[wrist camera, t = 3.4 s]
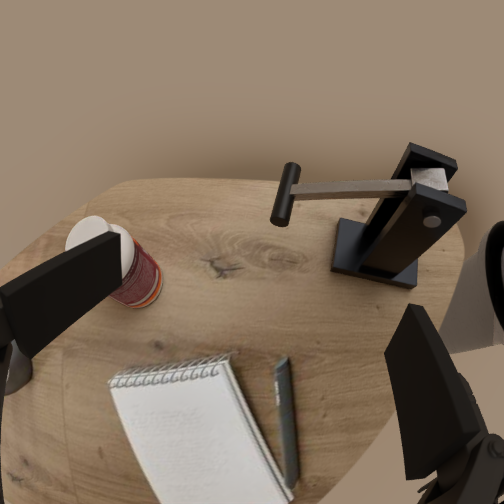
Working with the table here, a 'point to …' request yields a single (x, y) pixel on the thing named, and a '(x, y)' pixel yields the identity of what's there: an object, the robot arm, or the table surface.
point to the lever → (346, 189)
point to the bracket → (399, 226)
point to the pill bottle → (124, 263)
